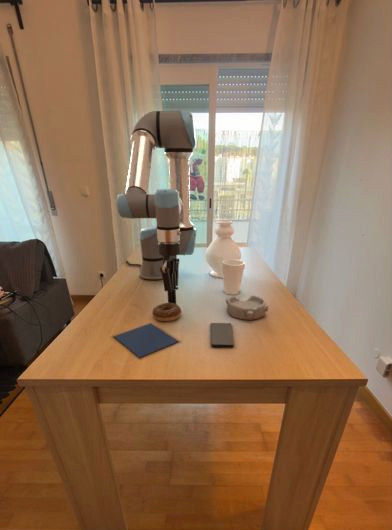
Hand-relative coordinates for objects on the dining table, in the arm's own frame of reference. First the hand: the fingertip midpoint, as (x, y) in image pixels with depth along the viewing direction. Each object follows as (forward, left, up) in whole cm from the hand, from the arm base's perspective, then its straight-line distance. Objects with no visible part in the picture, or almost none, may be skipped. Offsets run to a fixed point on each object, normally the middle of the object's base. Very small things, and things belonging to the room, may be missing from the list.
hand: (172, 306), depth 108 cm
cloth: (+12, -20, -2) cm, 23 cm away
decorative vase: (-20, +46, -2) cm, 50 cm away
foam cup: (+1, +31, -2) cm, 31 cm away
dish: (+20, +19, -2) cm, 28 cm away
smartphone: (+26, 0, -2) cm, 26 cm away
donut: (+3, -5, -2) cm, 6 cm away
